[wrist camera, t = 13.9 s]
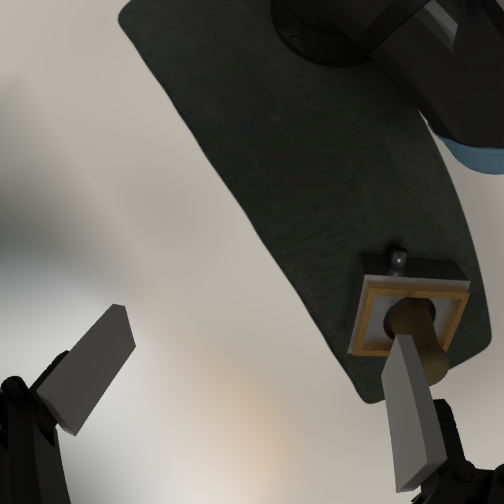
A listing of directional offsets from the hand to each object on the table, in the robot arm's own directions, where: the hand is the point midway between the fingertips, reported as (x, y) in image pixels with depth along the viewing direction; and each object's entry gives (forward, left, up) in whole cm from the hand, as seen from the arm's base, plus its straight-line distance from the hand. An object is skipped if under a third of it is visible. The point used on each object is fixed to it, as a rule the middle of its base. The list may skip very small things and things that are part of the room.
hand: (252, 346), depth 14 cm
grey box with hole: (+13, +18, -29) cm, 36 cm away
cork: (+14, +18, -23) cm, 32 cm away
